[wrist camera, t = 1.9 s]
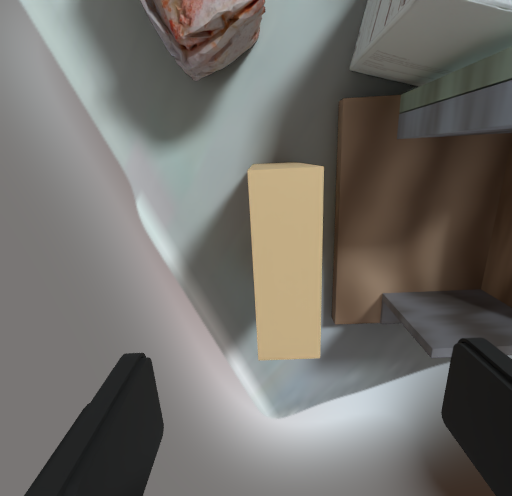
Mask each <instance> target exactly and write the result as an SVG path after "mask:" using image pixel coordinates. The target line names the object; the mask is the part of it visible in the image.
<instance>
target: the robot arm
mask: <svg viewBox="0 0 512 496" xmlns="http://www.w3.org/2000/svg"><path fill="white" fill-rule="evenodd" d="M442 418H443V421H444V423H445V425H446V427H447V428H448V429H449V431H450V432H451V433H452V435H453V436H454V438H455V439H456V441H457V442H458V443H459V445H460V446H461V447H462V449H463V450H464V452H465V453H466V454H467V456H468V457H469V459H470V460H471V462H472V463H473V464H474V466H475V467H476V469H477V470H478V471H479V472H480V474H481V475H482V477H483V478H484V480H485V481H486V483H487V484H488V485H489V487H490V488H491V490H492V491H493V492H494V494H495V495H496V496H512V359H511V358H509V357H508V356H507V355H506V354H504V353H503V352H502V351H500V350H499V349H498V348H497V347H495V346H494V345H493V344H492V343H490V342H489V341H488V340H486V339H484V338H481V337H477V338H462V339H460V340H459V341H458V343H457V344H455V345H454V346H453V351H452V356H451V362H450V368H449V373H448V379H447V384H446V390H445V395H444V401H443V406H442ZM163 426H164V424H163V418H162V413H161V408H160V403H159V398H158V392H157V387H156V383H155V377H154V372H153V366H152V362H151V359H150V358H146V356H145V354H144V353H129V354H124V355H123V356H122V357H121V358H120V360H119V361H118V363H117V364H116V365H115V367H114V368H113V370H112V371H111V373H110V374H109V376H108V377H107V379H106V380H105V382H104V383H103V385H102V386H101V388H100V389H99V391H98V392H97V394H96V395H95V397H94V398H93V400H92V401H91V403H89V404H87V406H86V407H85V408H84V409H83V411H82V412H81V414H80V415H79V416H78V418H77V419H76V421H75V422H74V424H73V425H72V427H71V428H70V430H69V431H68V432H67V434H66V435H65V437H64V438H63V440H62V441H61V443H60V444H59V446H58V447H57V449H56V450H55V452H54V453H53V454H52V456H51V457H50V459H49V460H48V462H47V463H46V465H45V466H44V468H43V469H42V470H41V472H40V474H39V475H38V476H37V478H36V479H35V481H34V482H33V484H32V485H31V487H30V488H29V489H28V491H27V492H26V494H25V495H24V496H143V493H144V490H145V487H146V484H147V481H148V478H149V475H150V472H151V469H152V466H153V463H154V460H155V457H156V454H157V451H158V448H159V445H160V442H161V439H162V436H163V428H164V427H163Z"/></svg>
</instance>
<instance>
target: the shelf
mask: <svg viewBox="0 0 512 496" xmlns="http://www.w3.org/2000/svg"><path fill="white" fill-rule="evenodd" d="M332 319H333V321H334V323H335V324H360V323H381V324H395V323H402V324H403V325H404V327H405V328H406V329H407V330H408V331H409V332H410V334H411V335H412V336H413V337H414V338H415V339H416V341H417V342H418V343H419V344H420V345H421V346H422V348H423V349H424V350H425V351H426V352H427V353H428V355H429V356H430V357H431V358H441V357H451V356H452V351H453V346H454V345H455V344H457V343H458V341H459V340H460V339H462V338H477V337H481V338H484V339H486V340H488V341H489V342H490V343H492V344H493V345H494V346H495V347H497V348H498V349H499V350H500V351H502V352H503V353H504V354H506V355H512V46H511V47H509V48H507V49H505V50H502V51H500V52H498V53H495V54H493V55H491V56H489V57H486V58H484V59H482V60H479V61H477V62H475V63H473V64H470V65H468V66H466V67H463V68H461V69H459V70H457V71H454V72H452V73H450V74H447V75H445V76H443V77H441V78H438V79H436V80H434V81H431V82H429V83H427V84H424V85H422V86H420V87H418V88H415V89H413V90H411V91H408V92H406V93H404V94H402V95H389V96H372V97H355V98H343V99H342V100H340V101H339V111H338V141H337V172H336V202H335V233H334V263H333V293H332Z"/></svg>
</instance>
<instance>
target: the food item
mask: <svg viewBox="0 0 512 496" xmlns="http://www.w3.org/2000/svg"><path fill="white" fill-rule="evenodd" d="M140 2H141V4H142V6H143V8H144V10H145V11H146V13H147V15H148V17H149V20H150V21H151V23H152V24H153V26H154V28H155V29H156V31H157V33H158V35H159V36H160V38H161V39H162V41H163V43H164V44H165V46H166V49H167V50H168V51H169V53H170V54H171V56H174V57H175V60H176V62H177V64H178V65H179V66H180V67H181V68H182V69H183V70H184V72H185V73H186V74H188V75H189V76H191V78H192V79H193V80H194V81H198V80H199V79H200V78H203V77H206V76H208V75H211V74H213V73H214V72H215V71H217V70H221V69H223V68H224V67H226V66H227V65H229V64H230V63H232V62H233V61H235V60H236V59H237V58H238V57H239V56H240V55H241V54H243V53H244V52H245V51H246V50H248V49H249V48H251V47H252V46H253V44H254V43H255V42H256V41H257V39H258V36H259V31H260V22H261V19H262V14H263V13H265V7H264V3H265V0H140Z"/></svg>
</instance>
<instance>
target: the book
mask: <svg viewBox="0 0 512 496" xmlns="http://www.w3.org/2000/svg"><path fill="white" fill-rule="evenodd" d="M247 171H248V188H249V205H250V222H251V239H252V256H253V273H254V290H255V308H256V325H257V342H258V359H259V360H283V359H311V358H320V337H321V287H322V237H323V187H324V166H318V165H311V164H305V163H298V162H285V163H266V164H253V165H252V166H251V167H250V168H249V169H248V170H247Z"/></svg>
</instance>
